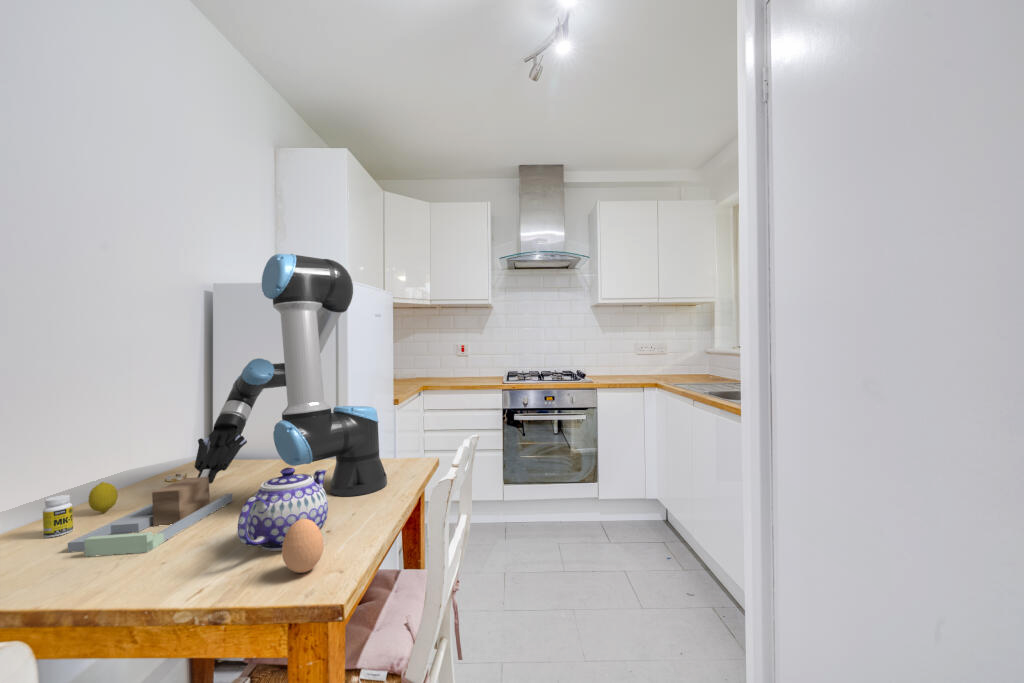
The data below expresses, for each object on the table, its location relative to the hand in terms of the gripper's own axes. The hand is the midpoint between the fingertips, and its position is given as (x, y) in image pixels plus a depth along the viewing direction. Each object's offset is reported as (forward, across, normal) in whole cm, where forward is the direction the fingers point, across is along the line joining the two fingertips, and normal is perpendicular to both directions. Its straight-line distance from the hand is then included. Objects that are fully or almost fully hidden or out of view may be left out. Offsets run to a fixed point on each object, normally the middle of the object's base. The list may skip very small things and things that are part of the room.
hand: (198, 494), depth 115 cm
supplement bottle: (+11, +23, +7) cm, 27 cm away
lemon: (+3, +24, -2) cm, 24 cm away
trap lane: (+11, +2, +6) cm, 13 cm away
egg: (+30, -44, +26) cm, 59 cm away
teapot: (+20, -35, +16) cm, 43 cm away
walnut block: (+7, -1, +3) cm, 7 cm away
